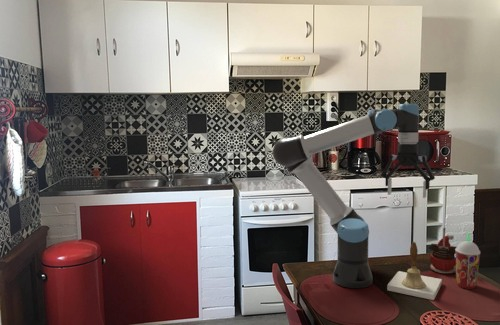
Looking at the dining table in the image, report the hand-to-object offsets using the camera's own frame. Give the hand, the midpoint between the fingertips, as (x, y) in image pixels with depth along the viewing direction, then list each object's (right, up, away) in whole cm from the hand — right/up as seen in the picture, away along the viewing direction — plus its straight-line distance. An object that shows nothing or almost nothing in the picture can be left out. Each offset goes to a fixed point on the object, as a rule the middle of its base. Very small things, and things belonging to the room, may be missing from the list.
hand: (406, 195), depth 169 cm
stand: (-1, -33, -12) cm, 35 cm away
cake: (+16, -31, +4) cm, 36 cm away
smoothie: (+18, -33, -11) cm, 39 cm away
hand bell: (-3, -32, -14) cm, 35 cm away
